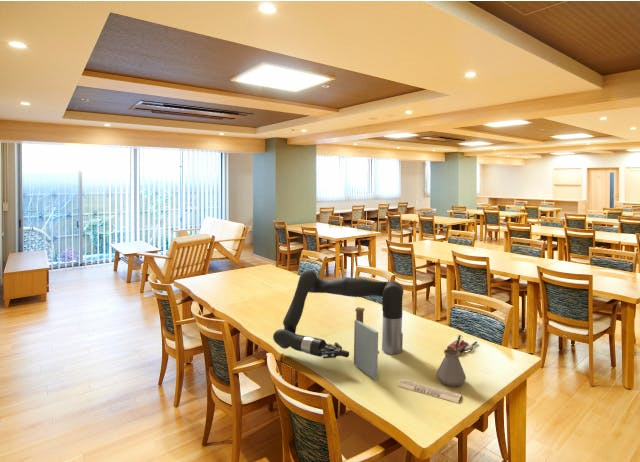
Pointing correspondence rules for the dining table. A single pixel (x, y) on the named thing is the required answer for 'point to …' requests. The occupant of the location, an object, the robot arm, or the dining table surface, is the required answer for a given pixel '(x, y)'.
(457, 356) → the coffee pot
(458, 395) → the tan flat bar
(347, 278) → the robot arm
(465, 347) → the dried flower sprig
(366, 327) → the door
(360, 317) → the hinge post
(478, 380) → the dining table surface
